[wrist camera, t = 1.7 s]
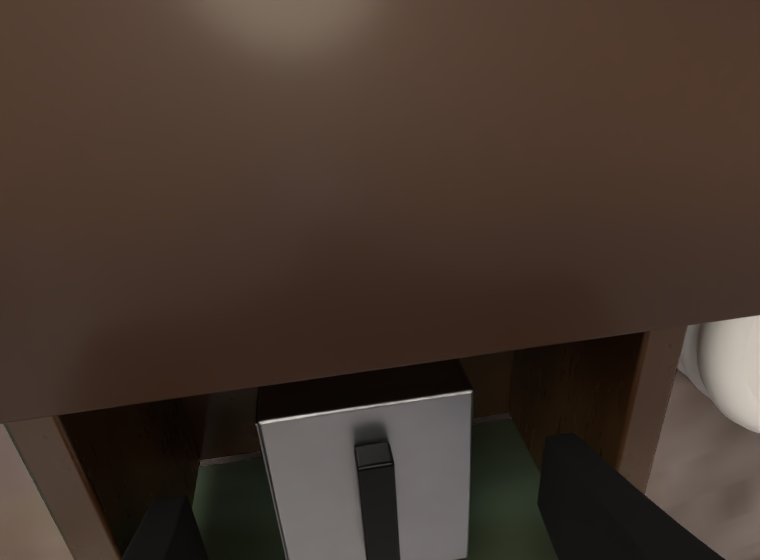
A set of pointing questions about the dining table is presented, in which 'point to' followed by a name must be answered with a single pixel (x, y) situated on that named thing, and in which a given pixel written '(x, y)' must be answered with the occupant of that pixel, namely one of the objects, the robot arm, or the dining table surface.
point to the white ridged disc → (726, 366)
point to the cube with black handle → (371, 463)
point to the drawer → (249, 478)
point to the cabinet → (361, 186)
